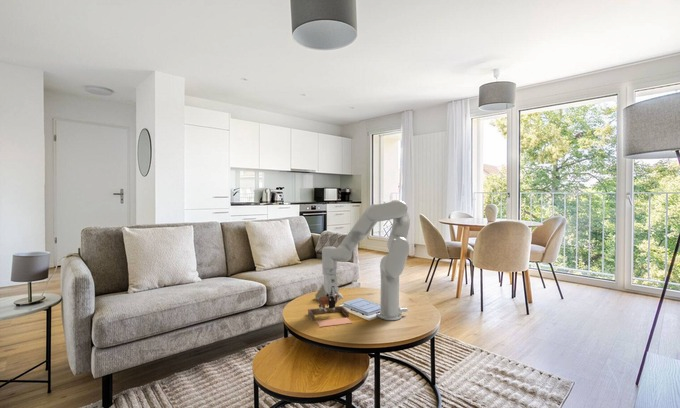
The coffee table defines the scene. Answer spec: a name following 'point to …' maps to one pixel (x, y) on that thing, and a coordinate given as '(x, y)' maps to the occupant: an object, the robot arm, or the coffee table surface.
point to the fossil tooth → (321, 293)
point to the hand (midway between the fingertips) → (330, 305)
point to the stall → (317, 311)
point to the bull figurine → (325, 301)
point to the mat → (333, 322)
